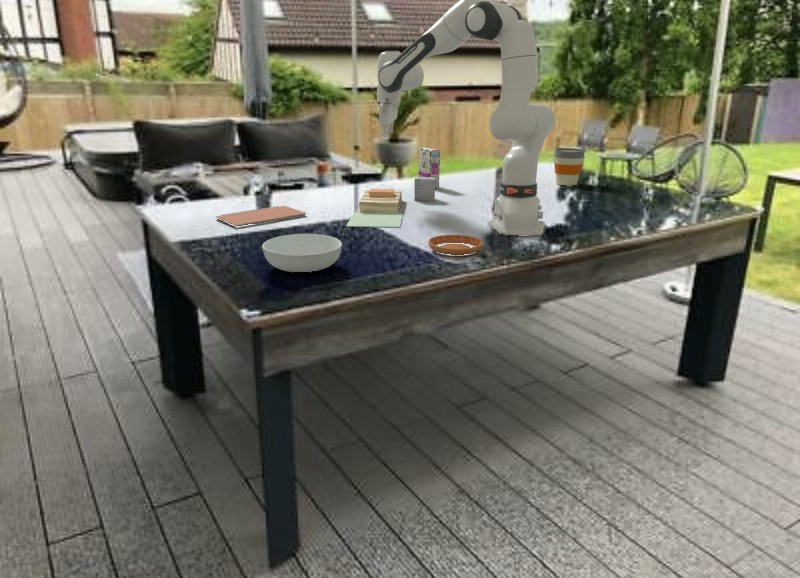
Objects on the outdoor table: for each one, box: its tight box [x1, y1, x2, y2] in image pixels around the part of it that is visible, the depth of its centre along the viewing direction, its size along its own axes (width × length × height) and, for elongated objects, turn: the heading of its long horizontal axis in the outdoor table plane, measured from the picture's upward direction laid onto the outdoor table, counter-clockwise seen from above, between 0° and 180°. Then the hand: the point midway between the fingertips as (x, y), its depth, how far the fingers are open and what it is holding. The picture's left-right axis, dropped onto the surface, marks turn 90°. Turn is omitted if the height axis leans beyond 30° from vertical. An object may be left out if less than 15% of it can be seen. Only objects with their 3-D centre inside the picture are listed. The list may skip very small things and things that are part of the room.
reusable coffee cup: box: [553, 147, 585, 187], centre depth 277 cm, size 13×13×15 cm
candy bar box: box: [418, 147, 441, 189], centre depth 272 cm, size 11×5×16 cm, turn 25°
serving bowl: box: [261, 233, 343, 273], centre depth 168 cm, size 21×21×7 cm
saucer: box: [428, 234, 484, 255], centre depth 184 cm, size 16×16×3 cm
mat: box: [345, 211, 404, 228], centre depth 219 cm, size 20×18×1 cm
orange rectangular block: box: [369, 188, 395, 197], centre depth 238 cm, size 6×9×2 cm, turn 86°
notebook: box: [215, 205, 307, 226], centre depth 222 cm, size 27×17×2 cm, turn 129°
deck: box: [358, 189, 403, 213], centre depth 238 cm, size 22×14×4 cm, turn 176°
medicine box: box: [414, 176, 436, 202], centre depth 248 cm, size 8×4×9 cm, turn 84°
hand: (388, 134), depth 240 cm, fingers open, 8 cm apart
